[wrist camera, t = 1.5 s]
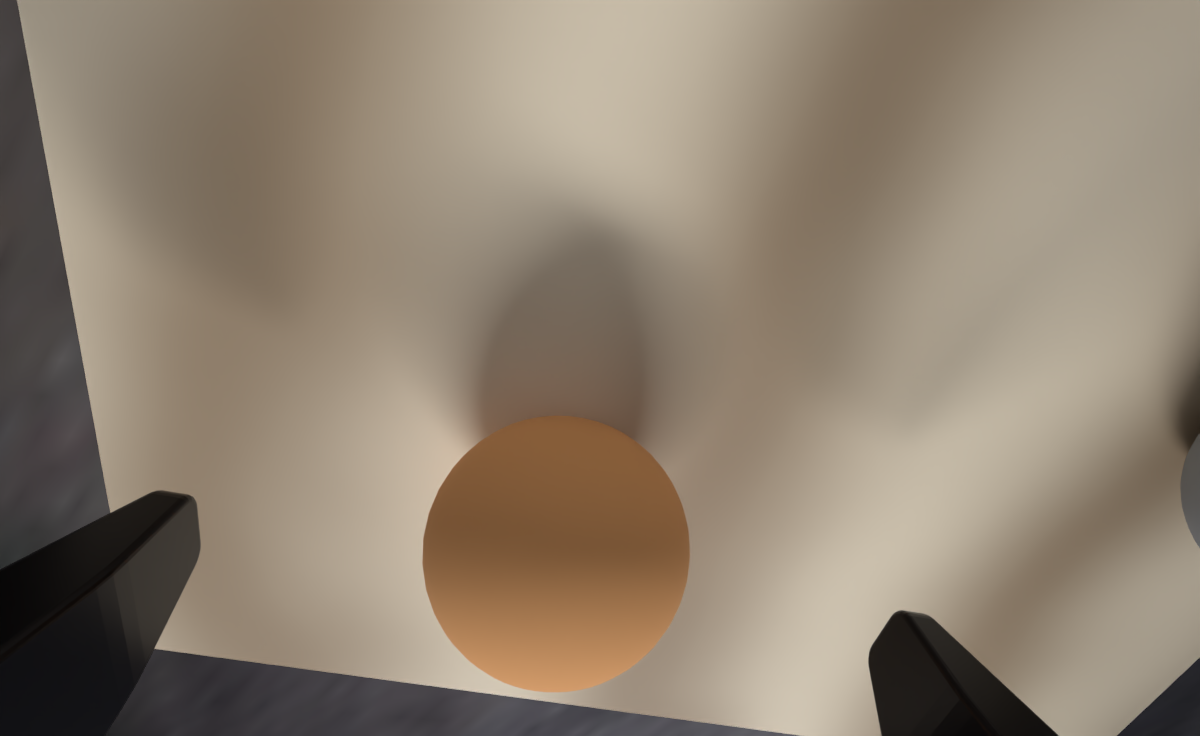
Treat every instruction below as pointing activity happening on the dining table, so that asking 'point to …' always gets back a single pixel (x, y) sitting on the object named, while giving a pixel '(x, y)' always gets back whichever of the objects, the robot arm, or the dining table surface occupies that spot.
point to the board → (656, 318)
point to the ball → (556, 554)
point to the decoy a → (1192, 490)
